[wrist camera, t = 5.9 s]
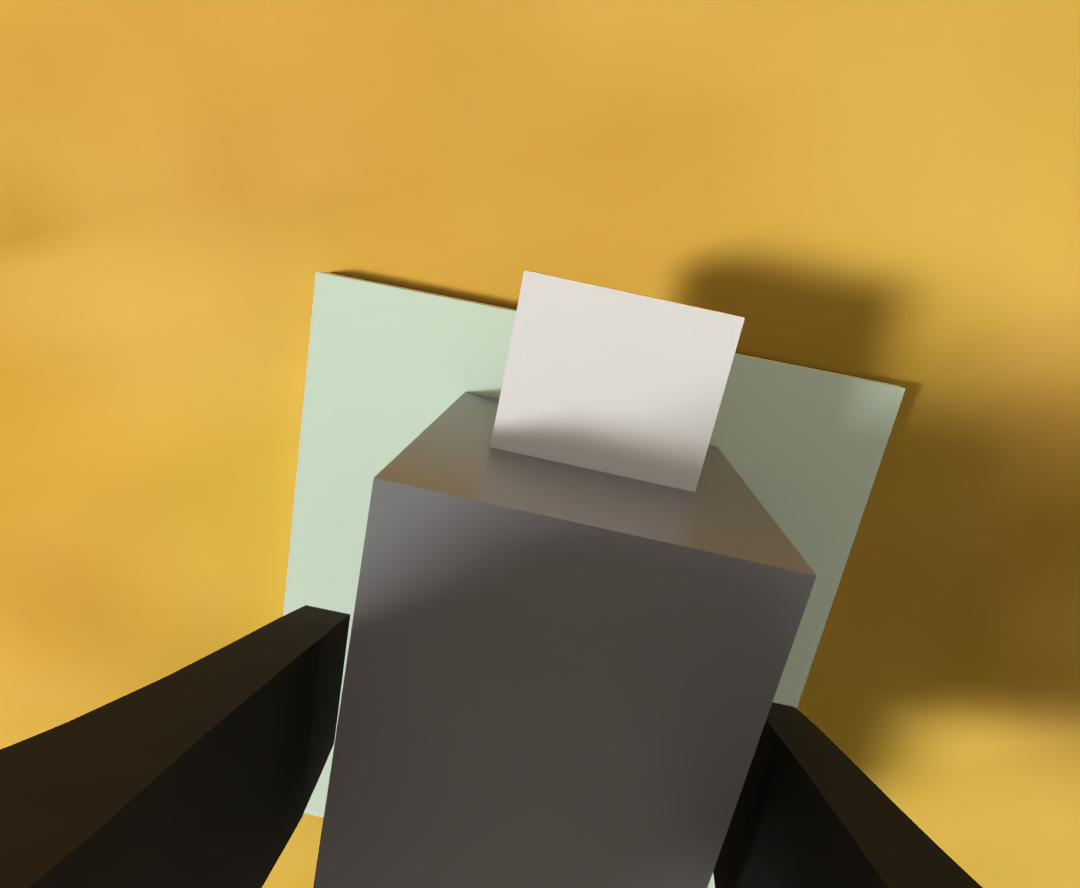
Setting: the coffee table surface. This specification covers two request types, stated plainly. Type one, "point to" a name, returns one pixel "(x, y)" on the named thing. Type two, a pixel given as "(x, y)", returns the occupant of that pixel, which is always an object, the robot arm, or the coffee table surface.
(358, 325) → the mat
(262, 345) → the coffee table surface
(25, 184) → the coffee table surface
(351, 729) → the grey power adapter
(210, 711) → the robot arm
